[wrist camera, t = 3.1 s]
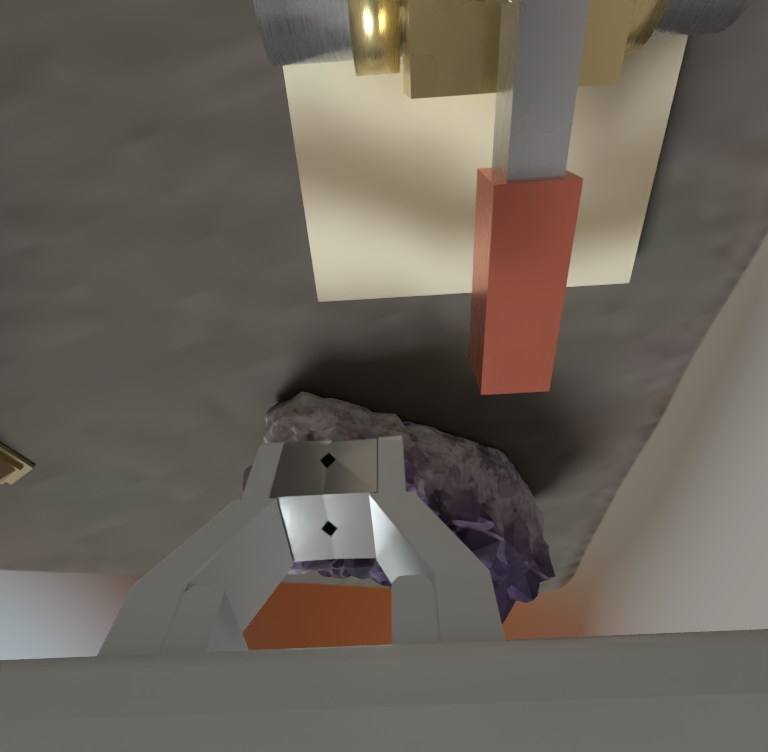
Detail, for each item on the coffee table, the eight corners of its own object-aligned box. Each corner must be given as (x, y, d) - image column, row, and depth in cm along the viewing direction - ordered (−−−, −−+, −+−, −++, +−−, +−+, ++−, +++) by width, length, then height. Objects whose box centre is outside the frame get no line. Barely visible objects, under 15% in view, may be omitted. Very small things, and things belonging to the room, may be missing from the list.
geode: (575, 428, 31) (637, 574, 24) (497, 519, 38) (526, 653, 31) (272, 359, 27) (230, 508, 20) (249, 475, 34) (212, 617, 27)
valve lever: (481, -103, 12) (510, -154, 9) (584, -111, 12) (644, -166, 9) (464, 350, 19) (477, 394, 16) (528, 347, 19) (552, 391, 16)
